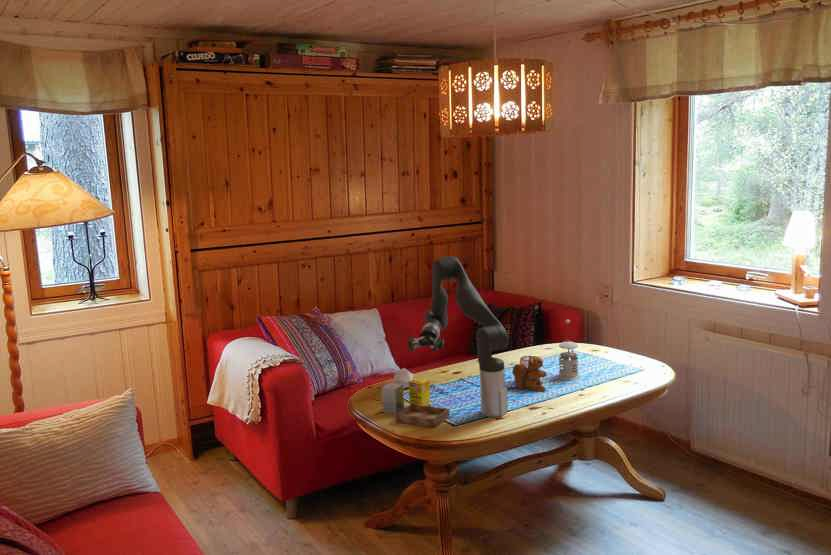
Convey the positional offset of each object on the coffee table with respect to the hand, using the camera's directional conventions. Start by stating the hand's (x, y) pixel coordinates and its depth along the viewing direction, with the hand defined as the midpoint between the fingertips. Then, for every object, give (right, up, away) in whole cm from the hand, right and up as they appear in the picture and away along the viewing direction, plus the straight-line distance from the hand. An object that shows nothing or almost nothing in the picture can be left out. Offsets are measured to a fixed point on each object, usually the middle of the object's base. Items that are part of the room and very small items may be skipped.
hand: (423, 350), depth 280 cm
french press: (+63, -14, +23) cm, 68 cm away
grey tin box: (-11, -23, -8) cm, 27 cm away
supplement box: (-1, -22, -5) cm, 23 cm away
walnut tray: (0, -24, -18) cm, 30 cm away
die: (-8, -18, +20) cm, 28 cm away
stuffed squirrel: (+44, -17, +11) cm, 48 cm away
